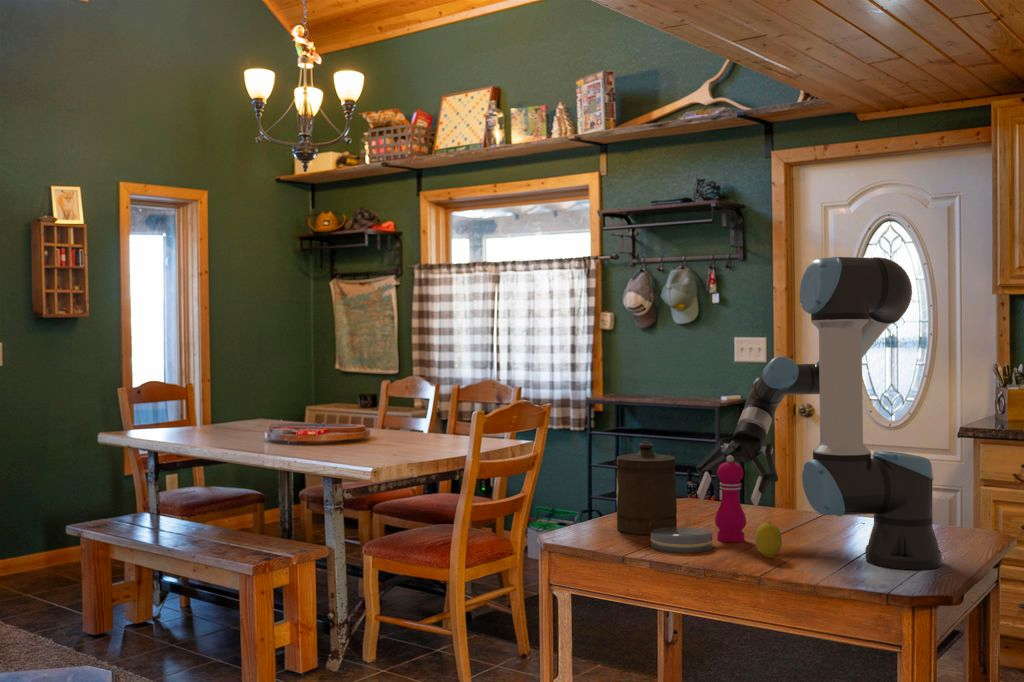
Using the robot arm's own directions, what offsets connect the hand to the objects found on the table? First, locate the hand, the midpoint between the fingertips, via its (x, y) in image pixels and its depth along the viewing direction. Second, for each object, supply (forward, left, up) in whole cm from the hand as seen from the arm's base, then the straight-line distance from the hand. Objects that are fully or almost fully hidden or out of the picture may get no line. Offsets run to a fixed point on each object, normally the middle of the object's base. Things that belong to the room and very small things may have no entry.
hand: (726, 499), depth 230 cm
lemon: (-18, +1, -10) cm, 21 cm away
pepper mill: (+1, -2, -10) cm, 10 cm away
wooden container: (+20, +10, -10) cm, 25 cm away
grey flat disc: (0, +12, -10) cm, 16 cm away
